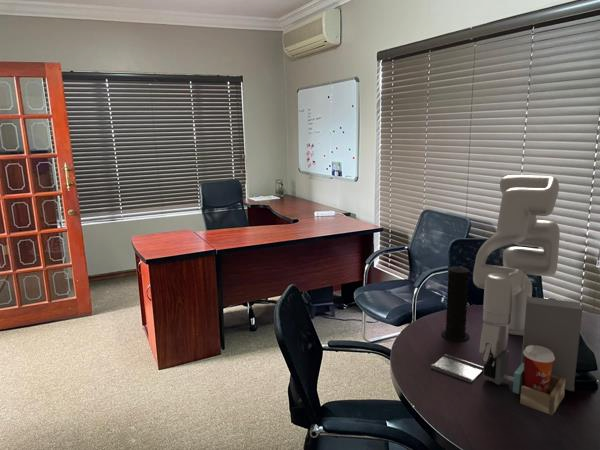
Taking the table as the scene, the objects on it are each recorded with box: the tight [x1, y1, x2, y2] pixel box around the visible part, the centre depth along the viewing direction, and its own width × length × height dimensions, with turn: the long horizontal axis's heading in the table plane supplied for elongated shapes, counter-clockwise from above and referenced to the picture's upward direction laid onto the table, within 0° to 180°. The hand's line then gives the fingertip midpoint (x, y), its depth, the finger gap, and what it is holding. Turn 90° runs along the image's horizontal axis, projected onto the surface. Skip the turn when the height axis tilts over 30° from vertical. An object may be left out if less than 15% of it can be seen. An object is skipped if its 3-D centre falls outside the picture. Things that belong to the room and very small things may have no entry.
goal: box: [519, 375, 566, 416], centre depth 121 cm, size 12×8×6 cm
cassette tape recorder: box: [520, 296, 583, 392], centre depth 128 cm, size 14×6×25 cm, turn 64°
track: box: [430, 353, 484, 384], centre depth 138 cm, size 10×13×1 cm
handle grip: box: [440, 266, 471, 343], centre depth 158 cm, size 10×26×10 cm
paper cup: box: [523, 345, 555, 394], centre depth 122 cm, size 8×8×14 cm
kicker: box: [482, 349, 524, 395], centre depth 128 cm, size 7×11×9 cm, turn 46°
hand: (492, 372), depth 130 cm, fingers closed on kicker, 4 cm apart
